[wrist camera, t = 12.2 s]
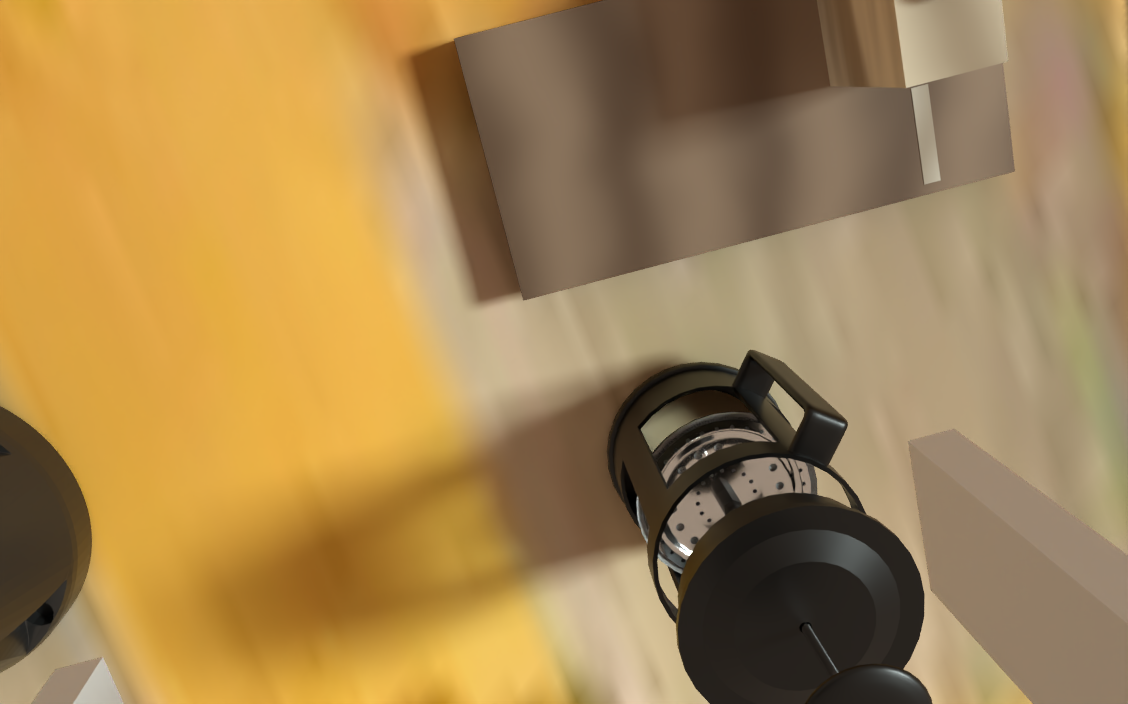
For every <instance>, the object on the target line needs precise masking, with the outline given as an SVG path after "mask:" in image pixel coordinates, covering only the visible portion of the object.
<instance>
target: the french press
mask: <svg viewBox="0 0 1128 704" xmlns="http://www.w3.org/2000/svg"><path fill="white" fill-rule="evenodd" d="M774 380H775V381H776V382H777V383H778V384H779V385H780V386H781V387H782V388H783V389H784V390H785V391H786V392H787V393H788V394H789V395H790V396H791V397H792V398H793V399H794V400H795V401H796V402H797V403H798V404H799V405H800V406H801V407H802V408H803V409H804V412H805V413H804V417H803V420H802V422H801V424H800V426H799V428H798V430H797V432H796V431H795V430H794V429H793V428H792V427H791V425H790V423H789V422H788V420H787V419H786V418H785V416H784V415H783V414H782V413H781V411H780V409H779V407H778V405H777V403H776V401H775V400H774V399H773V397H772V396H771V395H770V394H769V390H770V388H771V386H772V384H773V382H774ZM705 390H716V391H720V392H724V393H727V394H729V395H731V396H733V397H735V398H737V399H739V400H740V401H742V402H743V403H744V404H745V405H746V407H747V408H748V409H749V410H750V411H751V413H745V412H724V413H717V414H711V415H708V416H705V417H702V418H699V419H695V420H693V421H691V422H690V423H688V424H686V425H684V426H682V427H680V428H679V429H677V430H676V431H675V432H673V433H672V434H670V435H669V436H668V437H666V438H665V439H664V440H663V441H662V442H661V444H660V445H659V446H658V447H657V448H656V449H655V450H654V452H653V453H652V452H651V450H650V448H649V446H648V444H647V442H646V440H645V438H644V436H643V433H642V431H641V428H642V427H643V425H644V424H645V423H646V422H647V421H648V420H649V419H650V417H651V416H652V415H654V414H655V413H656V412H657V411H659V410H660V409H661V408H662V407H664V406H665V405H666V404H668V403H670V402H672V401H674V400H676V399H678V398H680V397H682V396H685V395H688V394H691V393H694V392H698V391H705ZM847 426H848V422H847V420H846V419H845V418H844V417H843V416H842V415H841V414H839V413H838V412H837V411H836V410H835V409H834V408H833V407H832V406H831V405H830V404H828V403H827V402H826V401H825V400H824V399H823V398H822V397H821V396H820V395H819V394H817V393H816V392H815V391H814V390H813V389H812V388H811V387H810V386H809V385H808V384H807V383H805V382H804V381H803V380H802V379H801V378H800V377H799V376H798V375H797V374H796V373H794V372H793V371H792V370H791V369H790V368H789V367H788V366H787V365H786V364H784V363H783V362H782V361H780V360H778V359H775V358H773V357H770V356H768V355H765V354H763V353H760V352H757V351H755V350H749V351H748V353H747V355H746V357H745V359H744V361H743V363H742V365H741V367H740V369H739V370H738V369H736V368H733V367H729V366H726V365H722V364H719V363H705V362H698V363H690V364H682V365H679V366H676V367H673V368H669V369H666V370H664V371H662V372H660V373H658V374H656V375H655V376H653V377H651V378H649V379H648V380H647V381H645V382H644V383H643V384H642V385H640V386H639V387H638V388H637V389H635V390H634V392H633V393H632V394H631V395H630V396H629V397H628V399H627V400H626V401H625V402H624V403H623V405H622V407H621V409H620V410H619V412H618V414H617V415H616V417H615V419H614V422H613V425H612V428H611V431H610V434H609V441H608V449H607V456H608V468H609V472H610V475H611V478H612V481H613V485H614V487H615V489H616V491H617V492H618V494H619V496H620V498H621V499H622V501H623V502H624V503H625V505H626V508H627V510H628V512H629V513H630V515H631V517H632V519H633V520H634V522H635V523H636V525H637V526H638V527H639V528H640V529H641V532H642V535H643V537H644V538H645V540H646V542H647V553H648V566H649V569H650V572H651V576H652V579H653V582H654V585H655V588H656V591H657V593H658V596H659V599H660V601H661V603H662V604H663V606H664V608H665V610H666V611H667V613H668V615H669V617H670V618H671V619H672V620H673V621H674V622H675V623H676V632H677V645H678V649H679V652H680V655H681V659H682V662H683V665H684V668H685V671H686V672H687V674H688V676H689V677H690V679H691V681H692V683H693V684H694V686H695V688H696V689H697V690H698V691H699V692H700V693H701V695H702V696H703V697H704V698H705V699H706V700H707V701H708V702H709V703H710V704H932V700H931V697H930V695H929V693H928V691H927V689H926V687H925V686H924V685H923V684H922V683H921V681H920V680H919V679H918V678H916V677H915V676H914V675H912V674H911V673H910V672H908V671H905V670H903V668H904V667H905V665H906V664H907V663H908V661H909V660H910V658H911V656H912V653H913V651H914V649H915V647H916V644H917V642H918V640H919V637H920V632H921V628H922V623H923V619H924V591H923V586H922V581H921V576H920V573H919V570H918V568H917V566H916V564H915V562H914V560H913V558H912V556H911V554H910V552H909V551H908V550H907V549H906V547H905V546H904V545H903V544H902V542H901V541H900V540H899V538H898V537H897V536H896V535H895V534H894V533H893V532H892V531H890V530H889V529H888V528H887V527H885V526H884V525H883V524H882V523H880V522H879V521H878V520H877V519H875V518H873V517H871V516H869V515H867V514H866V513H865V511H864V509H863V506H862V504H861V502H860V500H859V498H858V496H857V495H856V494H855V493H854V491H853V490H852V489H851V487H850V486H849V485H848V484H847V482H846V481H845V480H844V479H843V478H842V477H841V476H840V475H839V474H838V473H837V471H836V470H835V469H834V468H832V467H831V466H830V465H829V463H830V461H831V459H832V457H833V455H834V453H835V451H836V449H837V447H838V445H839V443H840V441H841V439H842V437H843V435H844V433H845V431H846V429H847ZM814 466H815V467H817V468H819V469H821V470H823V471H825V472H827V473H829V474H830V475H831V476H832V477H834V478H835V479H836V480H837V481H838V482H839V483H840V484H841V485H842V487H843V489H844V491H845V493H846V495H847V497H848V500H849V502H850V505H851V508H849V507H847V506H845V505H843V504H841V503H839V502H837V501H835V500H833V499H831V498H827V497H823V496H819V495H817V478H816V474H815V470H814ZM658 558H659V559H660V560H661V561H662V562H663V563H665V564H666V565H667V566H668V569H669V571H670V574H671V576H672V578H673V581H674V583H675V586H676V588H677V591H678V609H677V608H676V607H675V606H674V605H673V604H672V603H671V602H670V600H669V599H668V598H667V597H666V595H665V593H664V592H663V590H662V588H661V586H660V583H659V579H658V566H657V559H658Z"/></svg>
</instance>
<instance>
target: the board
mask: <svg viewBox="0 0 1128 704" xmlns="http://www.w3.org/2000/svg"><path fill="white" fill-rule="evenodd" d="M454 41H455V45H456V48H457V52H458V56H459V60H460V64H461V67H462V71H463V75H464V79H465V82H466V86H467V90H468V94H469V97H470V101H471V105H472V109H473V112H474V116H475V120H476V124H477V127H478V131H479V135H480V139H481V143H482V146H483V150H484V154H485V158H486V161H487V165H488V169H489V173H490V176H491V180H492V184H493V188H494V191H495V195H496V199H497V203H498V206H499V210H500V214H501V218H502V222H503V225H504V229H505V233H506V237H507V240H508V244H509V248H510V252H511V255H512V259H513V263H514V267H515V270H516V274H517V278H518V282H519V285H520V289H521V293H522V297H523V300H527V299H531V298H535V297H539V296H542V295H546V294H550V293H554V292H558V291H561V290H565V289H569V288H573V287H577V286H580V285H584V284H588V283H592V282H596V281H600V280H603V279H607V278H611V277H615V276H619V275H622V274H626V273H630V272H634V271H638V270H641V269H645V268H649V267H653V266H657V265H660V264H664V263H668V262H672V261H676V260H679V259H683V258H687V257H691V256H695V255H699V254H702V253H706V252H710V251H714V250H718V249H721V248H725V247H729V246H733V245H737V244H740V243H744V242H748V241H752V240H756V239H759V238H763V237H767V236H771V235H775V234H779V233H782V232H786V231H790V230H794V229H798V228H801V227H805V226H809V225H813V224H817V223H820V222H824V221H828V220H832V219H836V218H839V217H843V216H847V215H851V214H855V213H859V212H862V211H866V210H870V209H874V208H878V207H881V206H885V205H889V204H893V203H897V202H900V201H904V200H908V199H912V198H916V197H919V196H923V195H927V194H931V193H935V192H939V191H942V190H946V189H950V188H954V187H958V186H961V185H965V184H969V183H973V182H977V181H980V180H984V179H988V178H992V177H996V176H999V175H1003V174H1007V173H1011V172H1015V169H1014V160H1013V151H1012V141H1011V132H1010V123H1009V114H1008V105H1007V96H1006V87H1005V77H1004V68H1003V63H1001V64H997V65H993V66H989V67H985V68H981V69H978V70H974V71H970V72H966V73H962V74H958V75H954V76H951V77H947V78H943V79H939V80H935V81H931V82H927V83H924V84H920V85H916V86H912V87H908V88H882V87H838V86H830V80H829V74H828V68H827V61H826V55H825V49H824V43H823V36H822V30H821V24H820V18H819V11H818V5H817V0H603V1H599V2H595V3H591V4H587V5H583V6H579V7H576V8H572V9H568V10H564V11H560V12H556V13H552V14H548V15H544V16H540V17H537V18H533V19H529V20H525V21H521V22H517V23H513V24H509V25H505V26H501V27H498V28H494V29H490V30H486V31H482V32H478V33H474V34H470V35H466V36H462V37H459V38H455V39H454Z"/></svg>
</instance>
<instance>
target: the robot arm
mask: <svg viewBox="0 0 1128 704" xmlns="http://www.w3.org/2000/svg"><path fill="white" fill-rule="evenodd" d="M908 445H909V451H910V458H911V464H912V471H913V477H914V484H915V490H916V497H917V503H918V510H919V516H920V523H921V529H922V536H923V543H924V549H925V556H926V562H927V569H928V575H929V582H930V588H931V591H932V592H933V593H934V594H935V595H936V596H937V597H938V599H939V600H940V601H941V602H942V603H943V604H944V605H945V606H946V607H947V609H948V610H949V611H950V612H951V613H952V614H953V615H954V616H955V617H956V619H957V620H958V621H959V622H960V623H961V624H962V625H963V626H964V627H965V629H966V630H967V631H968V632H969V633H970V634H971V635H972V636H973V637H974V639H975V640H976V641H977V642H978V643H979V644H980V645H981V646H982V648H983V649H984V650H985V651H986V652H987V653H988V654H989V655H990V656H991V658H992V659H993V660H994V661H995V662H996V663H997V664H998V665H999V666H1000V668H1001V669H1002V670H1003V671H1004V672H1005V673H1006V674H1007V675H1008V676H1009V678H1010V679H1011V680H1012V681H1013V682H1014V683H1015V684H1016V685H1017V686H1018V688H1019V689H1020V690H1021V691H1022V692H1023V693H1024V694H1025V695H1026V697H1027V698H1028V699H1029V700H1030V701H1031V702H1032V703H1033V704H1128V555H1127V554H1126V553H1124V552H1123V551H1122V550H1120V549H1119V548H1118V547H1116V546H1115V545H1113V544H1112V543H1111V542H1109V541H1108V540H1107V539H1105V538H1104V537H1102V536H1101V535H1100V534H1098V533H1097V532H1096V531H1094V530H1093V529H1091V528H1090V527H1089V526H1087V525H1086V524H1084V523H1083V522H1082V521H1080V520H1079V519H1078V518H1076V517H1075V516H1073V515H1072V514H1071V513H1069V512H1068V511H1067V510H1065V509H1064V508H1062V507H1061V506H1060V505H1058V504H1057V503H1056V502H1054V501H1053V500H1051V499H1050V498H1049V497H1047V496H1046V495H1045V494H1043V493H1042V492H1040V491H1039V490H1038V489H1036V488H1035V487H1034V486H1032V485H1031V484H1029V483H1028V482H1027V481H1025V480H1024V479H1023V478H1021V477H1020V476H1018V475H1017V474H1016V473H1014V472H1013V471H1011V470H1010V469H1009V468H1007V467H1006V466H1005V465H1003V464H1002V463H1000V462H999V461H998V460H996V459H995V458H994V457H992V456H991V455H989V454H988V453H987V452H985V451H984V450H983V449H981V448H980V447H978V446H977V445H976V444H974V443H973V442H972V441H970V440H969V439H967V438H966V437H965V436H963V435H962V434H961V433H959V432H958V431H956V430H955V429H951V430H948V431H944V432H940V433H936V434H933V435H929V436H925V437H922V438H918V439H914V440H910V441H908ZM91 547H92V535H91V524H90V518H89V513H88V509H87V506H86V502H85V499H84V497H83V494H82V492H81V489H80V487H79V485H78V483H77V481H76V479H75V477H74V475H73V474H72V472H71V470H70V469H69V467H68V466H67V464H66V463H65V461H64V460H63V459H62V457H61V456H60V455H59V453H58V452H57V451H56V450H55V449H54V448H53V446H52V445H51V444H50V443H49V442H48V441H47V440H46V439H45V438H44V437H43V436H42V435H41V434H40V433H38V432H37V431H36V430H35V429H34V428H33V427H31V426H30V425H29V424H27V423H26V422H25V421H23V420H22V419H21V418H19V417H18V416H16V415H14V414H13V413H11V412H10V411H8V410H6V409H4V408H3V407H1V406H0V673H1V672H3V671H5V670H6V669H8V668H10V667H12V666H13V665H15V664H16V663H18V662H19V661H21V660H22V659H24V658H25V657H26V656H27V655H29V654H30V653H31V652H32V651H34V650H35V649H36V648H37V647H38V646H39V645H40V644H41V643H42V642H43V641H44V640H45V639H46V638H47V637H48V636H49V635H50V634H51V632H52V631H53V630H54V628H55V627H56V626H57V625H58V623H59V622H60V621H61V619H62V618H63V617H64V615H65V614H66V613H67V612H68V610H69V609H70V608H71V606H72V605H73V603H74V601H75V600H76V598H77V596H78V594H79V593H80V591H81V588H82V586H83V584H84V581H85V578H86V575H87V572H88V568H89V564H90V557H91ZM31 704H124V703H123V701H122V699H121V696H120V694H119V692H118V690H117V687H116V685H115V683H114V681H113V679H112V676H111V674H110V672H109V670H108V667H107V665H106V663H105V661H104V658H103V657H100V658H97V659H93V660H89V661H85V662H82V663H78V664H74V665H70V666H67V667H63V668H59V669H55V670H54V672H53V673H52V675H51V676H50V677H49V679H48V680H47V682H46V683H45V685H44V686H43V687H42V689H41V690H40V692H39V693H38V694H37V696H36V697H35V699H34V700H33V702H32V703H31Z"/></svg>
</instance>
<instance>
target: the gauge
mask: <svg viewBox="0 0 1128 704" xmlns="http://www.w3.org/2000/svg"><path fill="white" fill-rule="evenodd" d="M817 5H818V11H819V18H820V24H821V30H822V36H823V43H824V49H825V55H826V61H827V68H828V74H829V80H830V86H838V87H882V88H908V87H912V86H916V85H920V84H924V83H927V82H931V81H935V80H939V79H943V78H947V77H951V76H954V75H958V74H962V73H966V72H970V71H974V70H978V69H981V68H985V67H989V66H993V65H997V64H1001V63H1004V62H1008V54H1007V44H1006V35H1005V26H1004V16H1003V7H1002V0H817Z"/></svg>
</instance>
